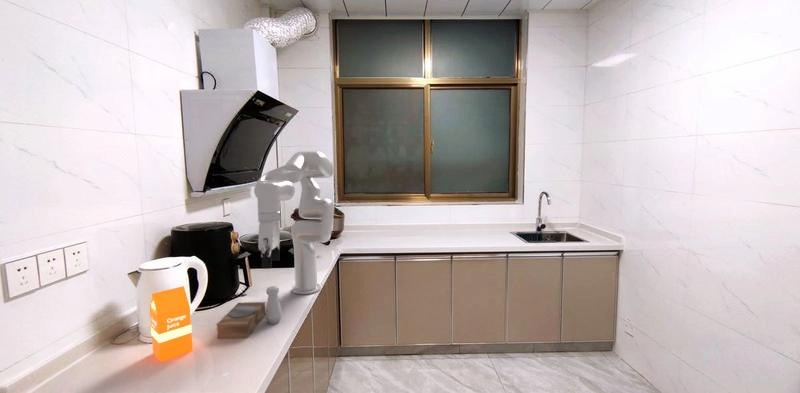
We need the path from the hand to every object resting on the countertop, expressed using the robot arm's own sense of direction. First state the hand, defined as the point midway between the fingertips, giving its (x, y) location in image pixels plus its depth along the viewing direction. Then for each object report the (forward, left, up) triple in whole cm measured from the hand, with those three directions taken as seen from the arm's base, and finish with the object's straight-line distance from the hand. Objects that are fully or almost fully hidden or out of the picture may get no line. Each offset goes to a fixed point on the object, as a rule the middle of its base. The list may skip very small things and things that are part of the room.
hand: (271, 264), depth 132 cm
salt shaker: (0, 0, -22) cm, 22 cm away
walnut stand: (+3, -10, -22) cm, 24 cm away
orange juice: (+20, -25, -22) cm, 39 cm away
